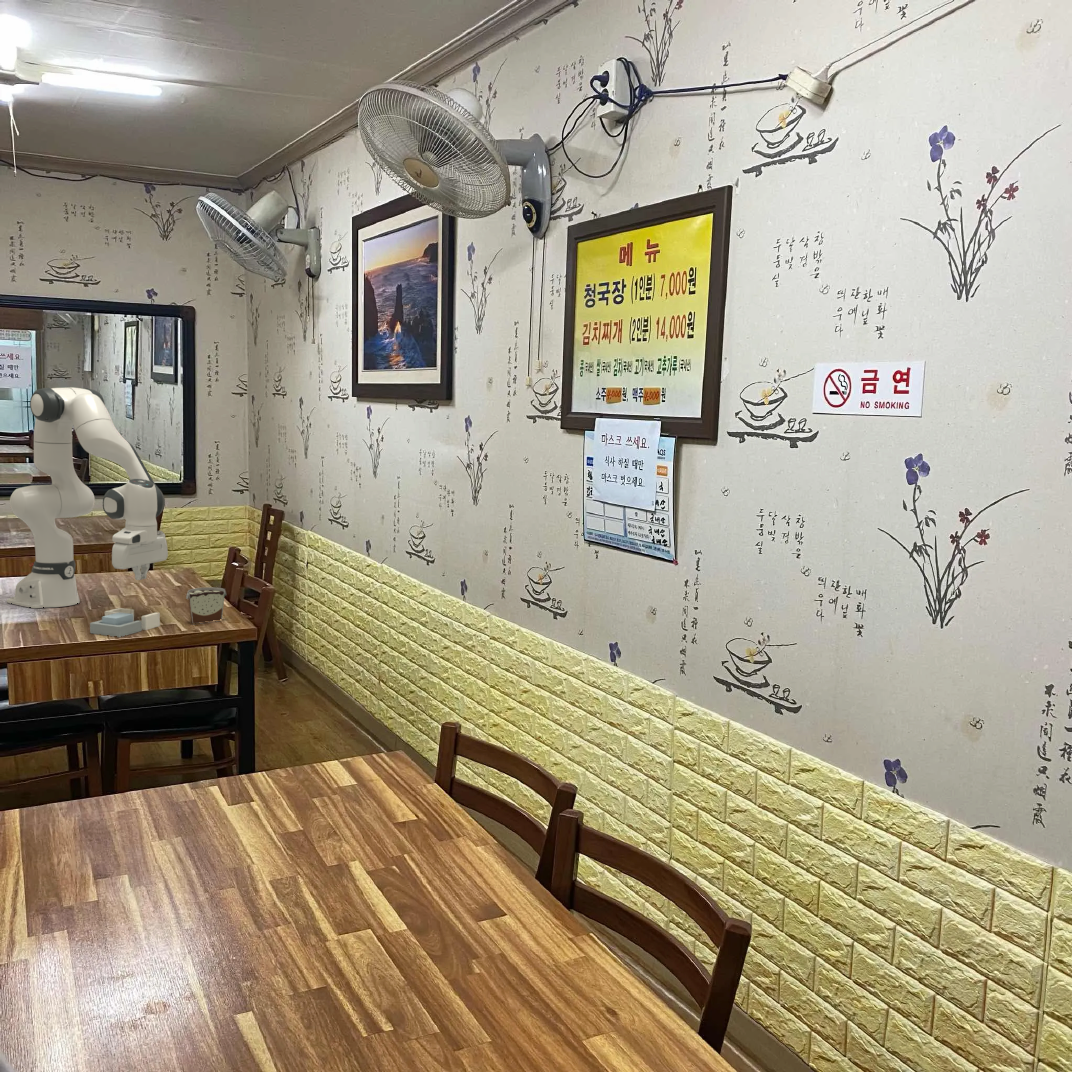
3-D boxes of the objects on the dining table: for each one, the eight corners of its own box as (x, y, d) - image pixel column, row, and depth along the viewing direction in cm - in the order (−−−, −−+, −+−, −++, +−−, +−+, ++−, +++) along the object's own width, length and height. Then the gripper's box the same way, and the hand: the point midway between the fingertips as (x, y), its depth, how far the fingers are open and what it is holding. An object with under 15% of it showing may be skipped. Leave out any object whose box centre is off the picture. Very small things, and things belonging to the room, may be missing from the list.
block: (102, 633, 282) (101, 616, 281) (119, 628, 288) (119, 612, 288) (116, 635, 280) (115, 618, 280) (133, 630, 287) (133, 614, 286)
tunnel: (105, 624, 292) (104, 611, 292) (119, 620, 298) (119, 607, 297) (145, 629, 288) (145, 616, 287) (159, 625, 293) (159, 612, 293)
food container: (218, 616, 309) (218, 585, 308) (226, 620, 304) (226, 588, 303) (179, 621, 301) (179, 589, 299) (187, 624, 296) (187, 592, 295)
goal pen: (90, 633, 281) (89, 623, 281) (112, 627, 290) (112, 617, 289) (119, 637, 278) (119, 627, 277) (141, 630, 286) (141, 620, 286)
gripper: (156, 528, 301) (155, 572, 303) (108, 536, 282) (107, 583, 284) (173, 531, 299) (172, 574, 301) (125, 539, 280) (125, 586, 282)
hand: (140, 579), depth 293 cm, fingers closed
